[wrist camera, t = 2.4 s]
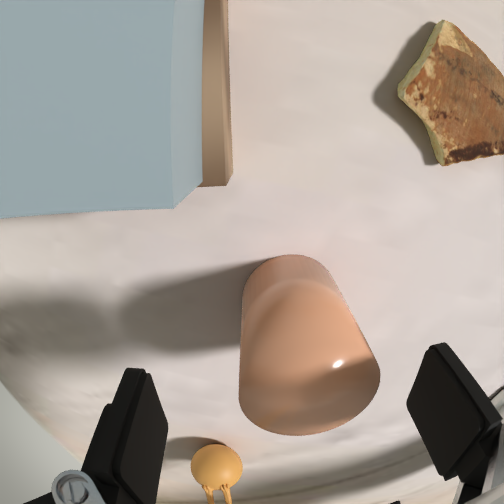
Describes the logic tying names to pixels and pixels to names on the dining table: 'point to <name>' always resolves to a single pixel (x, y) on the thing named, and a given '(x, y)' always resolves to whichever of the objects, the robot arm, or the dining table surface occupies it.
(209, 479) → the figurine
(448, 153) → the shard
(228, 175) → the bottom block
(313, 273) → the terracotta cylinder
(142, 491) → the robot arm
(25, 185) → the top block
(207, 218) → the dining table surface
